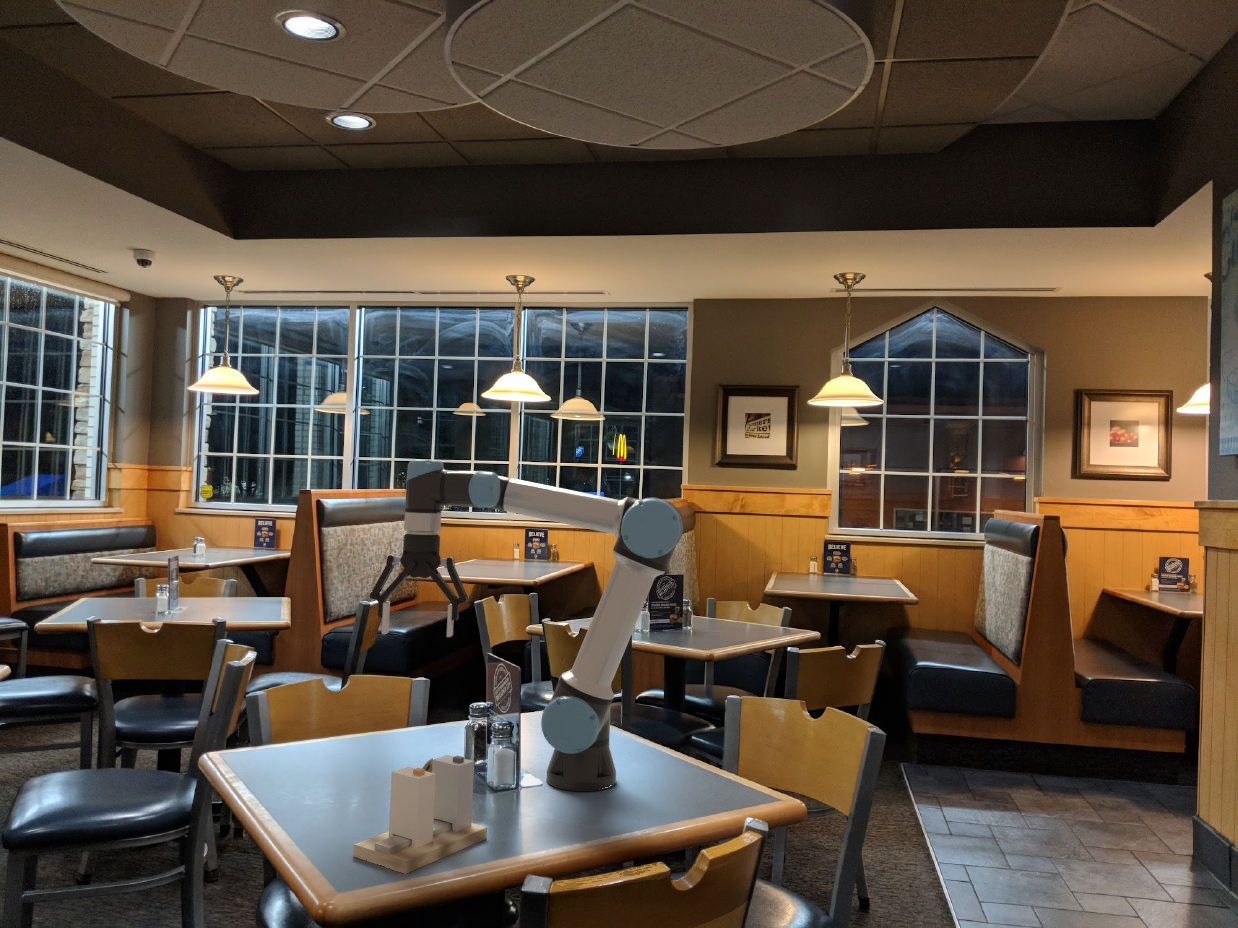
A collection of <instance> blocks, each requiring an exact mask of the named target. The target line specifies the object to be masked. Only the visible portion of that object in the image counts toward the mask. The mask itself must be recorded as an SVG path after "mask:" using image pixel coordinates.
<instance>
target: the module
mask: <svg viewBox="0 0 1238 928" xmlns="http://www.w3.org/2000/svg"><path fill="white" fill-rule="evenodd" d="M390 777H391V778H390V800H389V802H390V803H389V818H388V819H389V821H388V831H389V837H392V836H395V835H399V836H402V837H405V838H408V839H412V847H414V848H417V847H420V846H422V845H425V844H427V843H430V842H432V841H433V820H434V799H435V777H436V774H435V773H431V772H427V771H425V769H422V768H421V767H416V768H415V767H411V766H407V767H403V768H400V769H397V770H394V771H391V776H390Z"/></svg>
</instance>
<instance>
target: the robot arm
mask: <svg viewBox="0 0 1238 928" xmlns="http://www.w3.org/2000/svg"><path fill="white" fill-rule="evenodd" d="M443 506H444V507H448V506H450V507H451V506H452V507H467V508H478V509H481V508H482V509H483V508H488V509H493V510H497V511H504V512H507V513H508V512H509V513H513V514H518V515H523V516H527V517H532V518H537V519H542V520H545V521H550V522H555V523H561V524H565V525H569V526H574V527H578V528H583V529H589V530H593V531H597V532H602V533H606V534H610V535H614V536H615V537H616V541H615V543H614V546H613V549H612V553H613V556H614V558H615V563H614V566H613V569H612V571H611V573H610V575H609V578H608V580H607V583H606V585H605V588H604V590H603V593H602V595H601V597H600V600H599V603H598V605H597V606H596V609H595V612H594V614H593V617H592V619H591V622H590V624H589V627H588V629H587V631H586V633H585V636H584V639H583V641H582V643H581V646H580V648H579V651H578V652H577V655H576V658H575V661H574V662H573V666H572V667H571V669H569V670H567V671H565V672H562V673H561V675H560V676H559V678H558V682H557V684H556V687H555V690H554V691H553V695H552V696H551V699H550V701H549V702H548V703H547V704H546V706H545V707H544V709H543V710H542V711H543V712H542V715H541V719H540V720H541V721H540V722H541V723H540V724H541V725H540V726H541V727H540V728H541V731H542V735H543V737H544V739H545V740H546V741H547V743H548V744H549V745H550V747H552V748H554V749H553V752H552V755H551V757H550V760H549V764H548V765H547V766H548V767H547V768H546V783H547V784H549V785H550V786H552V787H554V788H557V789H560V790H565V791H572V792H593V791H592V790H597V791H600V790H599V789H602V788H605V787H609V786H610V785H613V784H614V783H615V781H616V782H617V771H616V767H615V764H614V760H613V757H612V751H611V748H610V732H611V730H610V728H611V705H612V702H613V700H614V697H615V694H614V692H613V689H612V682H613V681H614V678H615V676H616V673H617V670H618V668H619V666H620V663H621V661H622V658H623V656H624V654H625V651H626V649H627V646H628V644H629V642H630V639H631V637H632V635H633V632H634V629H635V627H636V624H637V622H638V621H639V617H640V615H641V613H642V609H643V608H644V606H645V603H646V600H647V597H648V596H649V593H650V590H651V588H652V586H653V583H654V581H655V579H656V578H657V577H658V576H660V575H663V574H665V573H666V571H667V569H668V568H669V564H670V562H671V559H672V557H673V554H674V552H675V549H676V548H677V545H678V544H679V543H680V540H681V539H682V537H683V533H684V530H685V525H684V519H683V515H682V513H681V512H680V510H679V509H678V508H677V506H675V504H673V503H672V502H670V501H669V500H666V499H661V498H658V497H646V498H634V497H629V496H626V497H624V498H622V499H615V498H611V497H606V496H602V495H596V494H592V493H587V492H582V491H577V490H573V489H567V488H563V487H557V486H553V485H547V484H544V483H543V484H542V483H539V482H538V483H537V482H532V481H528V480H522V479H517V478H511V477H508V476H503V475H499V474H497V473H496V472H492V471H486V470H448V469H445V467H444V462H443V461H441V460H434V459H430V460H429V459H413V460H412V459H411V460H410V461H409V462H408V463H407V471H406V479H405V509H404V525H403V530H404V532H406V533H405V534H404V535H403V544H402V545H403V546H402V555H401V556H399V555H398V556H397V555H395V554H390V555H387V557H386V565H385V567H384V568H383V570H382V572H381V573H380V575H379V577H378V579H377V580H376V583H375V585H374V586H373V588H372V589H371V592H370V593H369V597H370V599H372V600H375V601H377V603H378V609H377V616H378V618H382V621H381V623H382V624H381V635H386V634H389V632H390V614H391V613H390V612H391V610H390V609H391V601H388V599H389V598H390V597H391V596H392V594H393V593H395V591H396V590H397V589H398V588H399V587H400V586H401V585H402V584H403V582H404V581H406V579H407V578H408V577H410V578H413V579H414V578H415V579H416V578H422V579H428V578H431V579H432V580H433V581H434V582H435V583H436V585H437V586H438V588H439V589H440V590H441V591H442V593H443V594H444V595H445V596H446V598H447V599H448V600H449V602H450V604H448V605H447V622H446V638H452V636H454V621H458V620H459V615H460V614H459V612H460V604H463V603H465V602H467V601H468V600H469V596H468V594H467V592H466V590H465V587H464V584H463V582H462V581H461V578H460V576H459V573H458V572H457V569H456V562H455V557H453V556H450V557H445V558H444V557H443V558H441V555H440V549H441V548H440V547H441V546H440V545H441V536H440V535H439V534H438V533H440V532H441V529H442V528H441V527H442V525H441V524H442V507H443ZM399 563H400V564H401V566H402V567H403V570H402V571H401V572H400V573H399V574H398V576H397V577H396V578H395V579H394V580H393V581H392V582H391V584H390V585H388V587H387V588H386V589H385V590H384V591H383V592H382V590H383V588H384V587H385V585H386V583H387V581H388V579H389V577H390V575H392V573H393V570H394V568H395V567H396V566H398V565H399ZM441 564H442V565H443V568H445V569H446V570H447V573H448V576H449V577H450V579H451V582H452V585H453V586H454V589H455V591H456V593H457V595H458V596H457V595H456V593H455V591H453V589H452V588H451V587H450V585H449V584H448V583H447V581H445V579H444V577H443V576H442V575H441V573H440V572H439V571H438V569H439V567H440V566H441ZM381 592H382V594H381ZM615 784H616V783H615ZM613 786H614V785H613Z"/></svg>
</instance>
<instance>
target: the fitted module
mask: <svg viewBox="0 0 1238 928" xmlns="http://www.w3.org/2000/svg"><path fill="white" fill-rule="evenodd" d="M432 773H435V774H436V777H435V799H434V820H437V819H439V820H442V821H446V822H449V823H453V825H452V830H453V831H459V830H461V829H464V828H466V827H469V826H471V824H472V823H473V822H472V818H473V796H474V778H475V777H474V774H475V760H471V759H466V758H465V756H461V755H456V756H454V755H449V754H447V755H443V756H439V757H436V758H433V760H432ZM434 820H433V821H434Z"/></svg>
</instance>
